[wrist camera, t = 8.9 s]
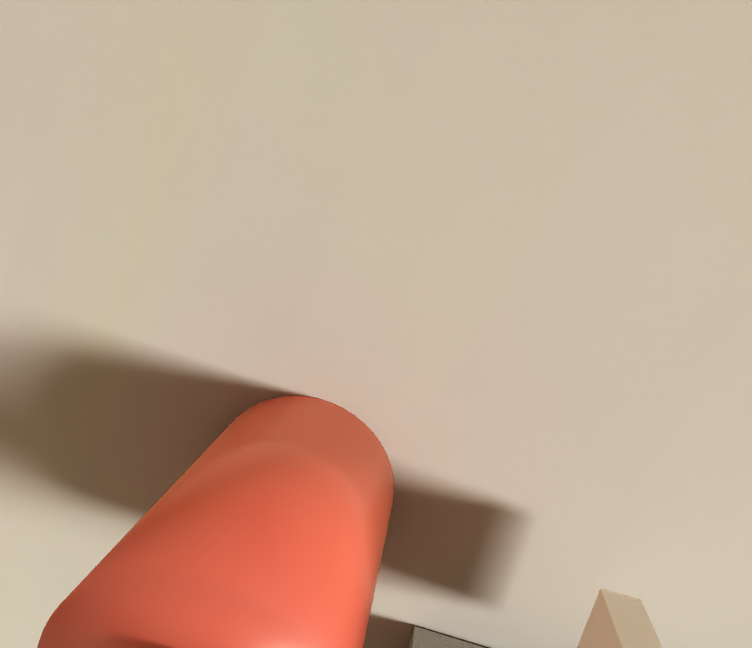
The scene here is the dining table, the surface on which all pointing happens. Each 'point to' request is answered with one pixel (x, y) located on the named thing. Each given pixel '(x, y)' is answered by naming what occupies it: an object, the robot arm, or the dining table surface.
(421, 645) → the panel
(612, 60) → the dining table surface
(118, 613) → the cap
